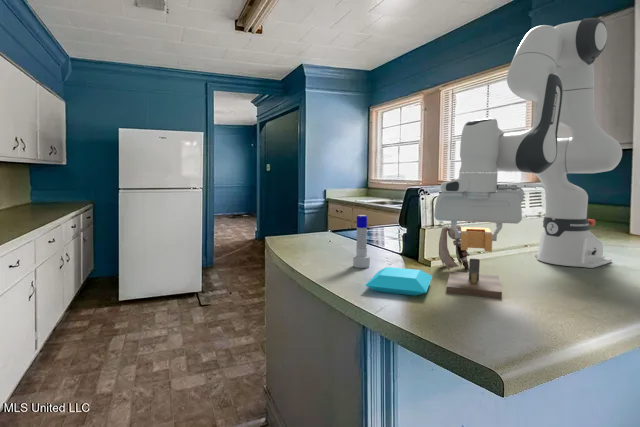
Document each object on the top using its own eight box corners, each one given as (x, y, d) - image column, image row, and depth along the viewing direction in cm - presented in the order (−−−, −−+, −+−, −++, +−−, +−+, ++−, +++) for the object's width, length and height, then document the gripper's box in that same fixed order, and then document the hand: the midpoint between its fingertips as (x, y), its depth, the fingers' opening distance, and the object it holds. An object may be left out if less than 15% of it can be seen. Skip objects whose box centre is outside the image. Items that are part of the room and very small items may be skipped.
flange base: (450, 276, 107) (451, 253, 106) (498, 281, 102) (499, 257, 101) (446, 292, 93) (447, 265, 92) (501, 298, 88) (503, 270, 88)
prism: (378, 280, 105) (378, 264, 105) (432, 285, 100) (432, 268, 100) (364, 294, 92) (364, 275, 92) (426, 300, 87) (426, 280, 87)
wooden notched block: (460, 241, 104) (461, 226, 104) (488, 243, 102) (488, 228, 102) (460, 249, 93) (461, 233, 93) (491, 251, 91) (492, 234, 91)
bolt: (372, 267, 117) (358, 269, 115) (364, 264, 122) (350, 265, 119) (373, 215, 115) (358, 216, 113) (364, 214, 120) (350, 215, 118)
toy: (476, 270, 110) (461, 220, 110) (446, 278, 112) (431, 228, 111) (471, 263, 119) (457, 216, 118) (443, 270, 121) (429, 224, 120)
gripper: (522, 184, 96) (519, 240, 98) (436, 183, 103) (434, 235, 104) (526, 185, 90) (523, 244, 92) (434, 184, 97) (433, 239, 98)
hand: (475, 239), depth 98 cm, fingers closed on wooden notched block, 7 cm apart
